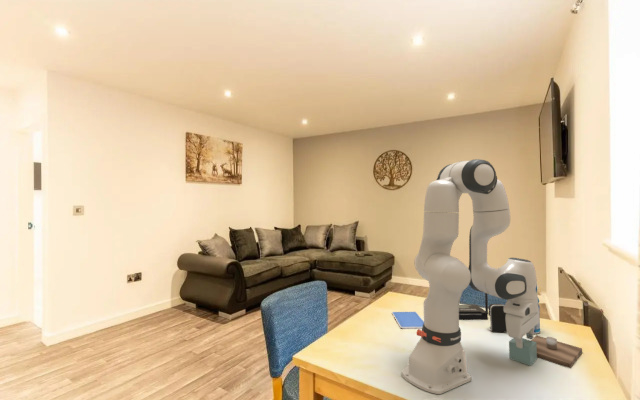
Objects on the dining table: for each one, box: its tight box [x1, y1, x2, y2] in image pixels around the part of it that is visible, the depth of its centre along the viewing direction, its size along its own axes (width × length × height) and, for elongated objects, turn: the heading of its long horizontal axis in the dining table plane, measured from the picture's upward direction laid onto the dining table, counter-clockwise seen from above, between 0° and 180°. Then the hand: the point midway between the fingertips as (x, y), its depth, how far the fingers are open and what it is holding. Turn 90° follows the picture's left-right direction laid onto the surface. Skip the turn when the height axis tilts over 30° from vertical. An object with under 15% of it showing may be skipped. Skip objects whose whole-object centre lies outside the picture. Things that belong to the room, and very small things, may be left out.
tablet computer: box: [391, 311, 424, 330], centre depth 142 cm, size 19×13×1 cm, turn 179°
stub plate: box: [530, 335, 583, 369], centre depth 109 cm, size 16×14×5 cm
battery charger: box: [488, 303, 507, 333], centre depth 128 cm, size 7×4×11 cm, turn 85°
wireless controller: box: [459, 293, 489, 321], centre depth 146 cm, size 20×14×17 cm
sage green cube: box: [508, 337, 538, 367], centre depth 105 cm, size 6×6×6 cm
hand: (525, 342), depth 105 cm, fingers open, 8 cm apart
